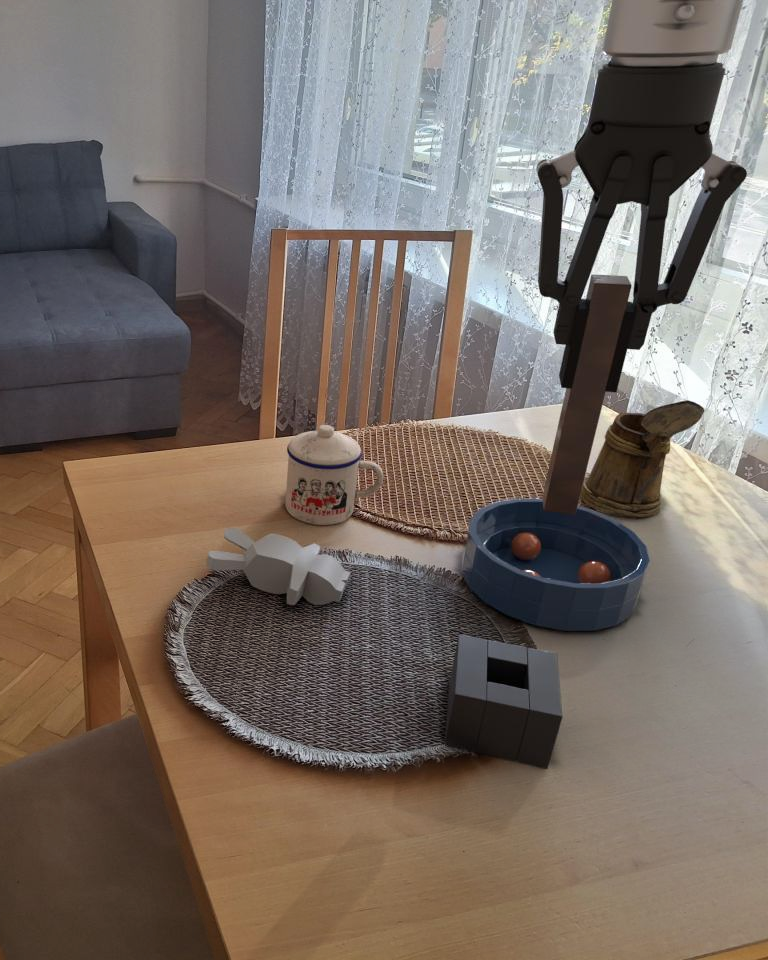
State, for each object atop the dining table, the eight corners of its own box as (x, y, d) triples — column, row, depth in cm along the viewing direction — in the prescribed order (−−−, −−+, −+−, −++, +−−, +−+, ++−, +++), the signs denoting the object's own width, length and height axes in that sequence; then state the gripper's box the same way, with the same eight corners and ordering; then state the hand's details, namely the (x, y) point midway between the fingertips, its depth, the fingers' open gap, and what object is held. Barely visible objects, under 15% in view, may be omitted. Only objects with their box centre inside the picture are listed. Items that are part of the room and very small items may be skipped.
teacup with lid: (280, 523, 108) (285, 440, 102) (285, 488, 116) (291, 409, 110) (379, 533, 105) (390, 448, 100) (377, 496, 113) (388, 416, 108)
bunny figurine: (338, 594, 88) (203, 548, 93) (328, 631, 91) (198, 584, 96) (359, 547, 96) (233, 507, 101) (349, 583, 98) (227, 542, 103)
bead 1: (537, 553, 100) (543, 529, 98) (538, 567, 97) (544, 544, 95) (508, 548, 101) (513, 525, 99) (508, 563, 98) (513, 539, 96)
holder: (543, 703, 79) (557, 653, 76) (547, 769, 73) (562, 716, 70) (449, 683, 82) (458, 634, 79) (444, 745, 75) (454, 693, 72)
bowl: (624, 556, 99) (637, 511, 97) (645, 650, 85) (661, 602, 82) (463, 531, 105) (471, 488, 102) (457, 616, 91) (466, 569, 88)
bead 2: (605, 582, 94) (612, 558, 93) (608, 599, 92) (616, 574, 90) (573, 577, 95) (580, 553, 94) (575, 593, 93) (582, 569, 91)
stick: (573, 501, 75) (627, 275, 66) (575, 515, 73) (632, 285, 64) (542, 497, 76) (591, 274, 66) (543, 511, 74) (594, 283, 64)
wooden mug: (605, 537, 103) (644, 400, 94) (570, 482, 115) (602, 355, 106) (685, 541, 102) (732, 402, 93) (642, 485, 113) (680, 357, 105)
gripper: (539, 66, 57) (483, 392, 69) (817, 60, 52) (708, 412, 64) (534, 59, 63) (483, 359, 75) (782, 53, 58) (688, 375, 70)
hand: (587, 383), depth 69 cm, fingers closed on stick, 2 cm apart
